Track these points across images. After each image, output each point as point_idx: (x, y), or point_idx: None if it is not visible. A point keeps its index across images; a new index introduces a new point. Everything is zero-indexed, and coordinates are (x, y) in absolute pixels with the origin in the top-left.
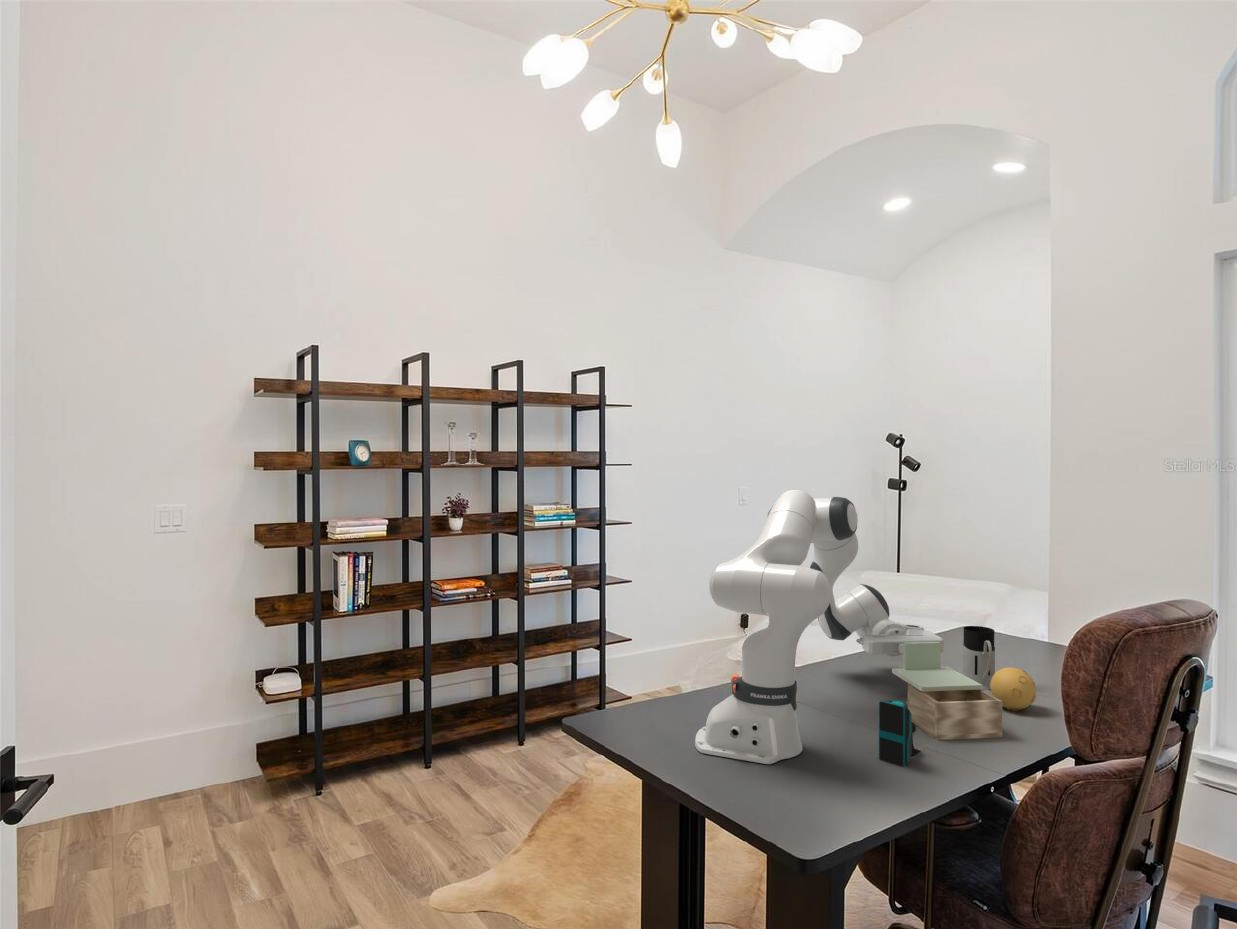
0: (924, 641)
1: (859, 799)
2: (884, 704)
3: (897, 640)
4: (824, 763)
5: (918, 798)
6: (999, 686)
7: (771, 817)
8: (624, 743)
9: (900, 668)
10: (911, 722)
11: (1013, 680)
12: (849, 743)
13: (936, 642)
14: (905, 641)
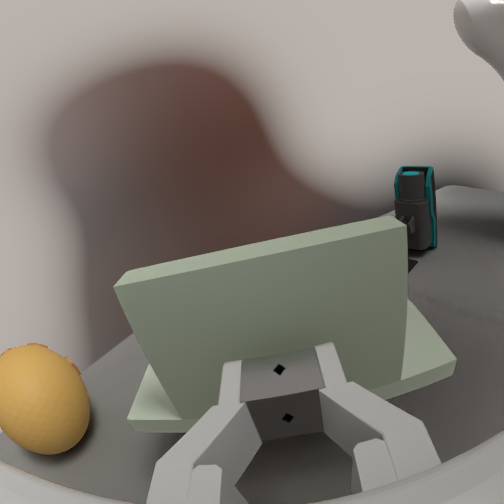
0: (56, 485)
1: (438, 209)
2: (425, 169)
3: (469, 463)
4: (485, 230)
5: (395, 217)
6: (73, 381)
7: (481, 193)
8: None
9: (415, 375)
10: (395, 195)
11: (51, 350)
12: (480, 263)
13: (142, 271)
14: (331, 499)
